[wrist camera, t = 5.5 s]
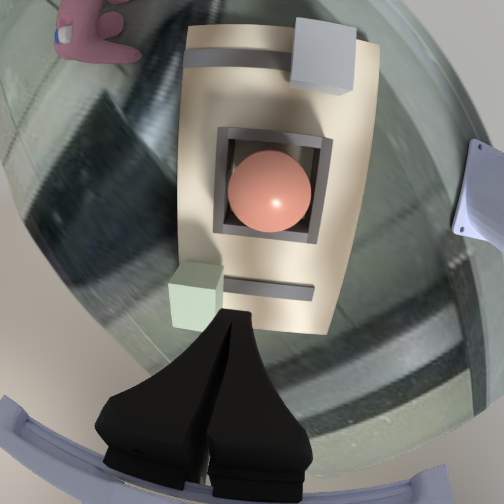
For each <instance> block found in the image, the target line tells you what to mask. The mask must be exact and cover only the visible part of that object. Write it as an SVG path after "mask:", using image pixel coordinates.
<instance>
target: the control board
mask: <svg viewBox="0 0 504 504" xmlns="http://www.w3.org/2000/svg"><path fill="white" fill-rule="evenodd" d="M293 33H294V28H291V27H281V26H269V25H249V24H217V25H197V26H188V33H187V41H186V49H185V50H184V57H183V66H182V67H183V78H182V89H181V103H180V118H179V139H178V178H177V209H178V249H179V265H180V264H181V262H182V261H189V262H197V263H205V264H214V265H222V266H224V284H223V308H226V309H234V310H242V311H250V312H251V313H252V327H253V328H255V329H264V330H274V331H285V332H296V333H309V334H323V335H327V332H328V329H329V325H330V322H331V319H332V316H333V313H334V310H335V306H336V303H337V300H338V296H339V293H340V289H341V286H342V282H343V279H344V275H345V271H346V267H347V264H348V260H349V256H350V252H351V248H352V244H353V239H354V235H355V231H356V226H357V222H358V217H359V213H360V208H361V203H362V198H363V193H364V187H365V182H366V176H367V170H368V164H369V158H370V151H371V145H372V137H373V130H374V121H375V112H376V103H377V91H378V78H379V61H380V46H379V45H376V44H373V43H369V42H365V41H361V40H358V39H356V55H355V71H354V84H353V91H350V92H348V93H345V94H343V95H341V96H337V95H332V94H326V93H321V92H314V91H308V90H301V89H293V88H289V79H290V67H291V56H292V43H293ZM264 149H276V150H280V151H284V152H286V153H288V154H289V155H291V156H293V157H294V158H295V159H296V160H297V161H298V162H299V163H300V165H301V166H302V168H303V169H304V171H305V173H306V175H307V177H308V179H309V182H310V187H311V199H310V204H309V207H308V209H307V211H306V213H305V214H304V216H303V217H302V218H301V219H300V220H299V221H298V222H297V223H296V224H295V225H293V226H292V227H290V228H288V229H286V230H282V231H278V232H262V231H258V230H255V229H252V228H250V227H248V226H247V225H245V224H244V223H243V222H241V221H240V220H239V219H238V217H237V216H236V215H235V213H234V212H233V210H232V208H231V206H230V202H229V198H228V186H229V182H230V178H231V176H232V174H233V172H234V171H235V169H236V168H237V167H238V165H239V164H240V163H241V162H242V161H243V160H244V159H245V158H246V157H248V156H249V155H251V154H252V153H254V152H257V151H259V150H264Z"/></svg>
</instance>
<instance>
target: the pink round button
mask: <svg viewBox="0 0 504 504" xmlns="http://www.w3.org/2000/svg"><path fill="white" fill-rule="evenodd" d="M228 198H229V202H230V206H231V208H232V210H233V212H234V213H235V215H236V216H237V217H238V219H239V220H240V221H241V222H243V223H244V224H245V225H247V226H248V227H250V228H252V229H255V230H258V231H262V232H278V231H282V230H286V229H288V228H290V227H292V226H293V225H295V224H296V223H297V222H298V221H299V220H300V219H301V218H302V217H303V216H304V214H305V213H306V211H307V209H308V207H309V204H310V199H311V187H310V182H309V179H308V177H307V175H306V173H305V171H304V169H303V168H302V166H301V165H300V163H299V162H298V161H297V160H296V159H295V158H294V157H293V156H291V155H289V154H288V153H286V152H284V151H280V150H276V149H264V150H259V151H257V152H254V153H252V154H251V155H249V156H248V157H246V158H245V159H244V160H243V161H242V162H241V163H240V164H239V165H238V167H237V168H236V169H235V171H234V172H233V174H232V176H231V178H230V182H229V186H228Z"/></svg>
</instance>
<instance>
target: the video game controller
mask: <svg viewBox="0 0 504 504" xmlns="http://www.w3.org/2000/svg"><path fill="white" fill-rule="evenodd" d="M103 1H104V0H62V2H61V5H60V8H59V11H58V16H57V21H56V32H55V42H54V46H55V50H56V53H57V54H58V55H59V56H60V57H61V58H63V59H66V60H77V61H81V62H87V63H103V64H125V63H134V62H137V61H138V60H140V59H141V58H142V53H141V52H140V51H139V50H137V49H135V48H133V47H131V46H128V45H123V44H117V43H112V42H108V41H105V40H106V39H108V38H111V37H113V36H116V35H118V34H119V33H120V32H121V31H122V29H123V26H124V18H123V16H122V15H121V14H120V13H118V12H114V11H111V12H107V13H104V14H102V15H100V16H99V12H100V10H101V7H102V4H103ZM107 1H108V2H109V3H111V4H116V5H118V4H123V3H125V2H128V1H130V0H107Z"/></svg>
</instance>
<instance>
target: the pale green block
mask: <svg viewBox="0 0 504 504" xmlns="http://www.w3.org/2000/svg"><path fill="white" fill-rule="evenodd" d="M223 284H224V266H222V265H214V264H205V263H197V262H189V261H182V262H181V264H180V265H179V267H178V269H177V270H176V272H175V273H174V275H173V277H172V278H171V280H170V281H169V283H168V285H169V296H170V306H171V315H172V323H173V327H177V328H183V329H189V330H195V331H201V332H203V331H204V330H205V329H206V327H207V326H208V325H209V324H210V322H211V321H212V320H213V318H214V317H215V315H216V314H217V312H218V311H219V310H220V309H221V308H223Z"/></svg>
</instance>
